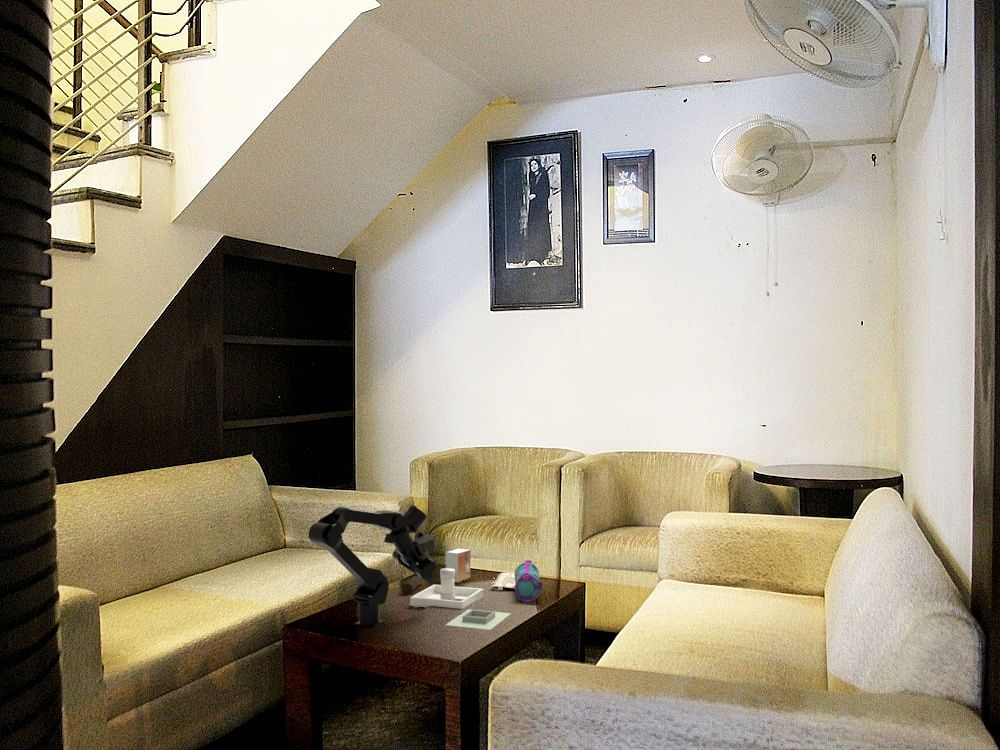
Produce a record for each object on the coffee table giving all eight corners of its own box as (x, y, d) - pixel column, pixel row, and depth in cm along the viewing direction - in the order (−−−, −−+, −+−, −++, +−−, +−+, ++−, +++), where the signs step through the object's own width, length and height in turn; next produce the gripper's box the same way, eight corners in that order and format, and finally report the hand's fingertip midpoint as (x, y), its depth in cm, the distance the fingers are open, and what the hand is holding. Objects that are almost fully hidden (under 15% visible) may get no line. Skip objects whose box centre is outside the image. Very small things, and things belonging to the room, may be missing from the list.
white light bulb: (457, 601, 274) (457, 570, 274) (443, 603, 271) (443, 571, 271) (451, 597, 278) (451, 567, 278) (438, 599, 276) (438, 568, 276)
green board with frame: (490, 633, 241) (490, 624, 241) (445, 628, 245) (445, 619, 245) (511, 616, 258) (511, 608, 258) (468, 612, 262) (468, 604, 262)
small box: (457, 583, 301) (457, 553, 301) (445, 581, 304) (445, 551, 304) (470, 578, 308) (470, 549, 308) (458, 576, 311) (458, 548, 311)
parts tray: (462, 611, 263) (462, 602, 263) (410, 606, 269) (410, 597, 269) (483, 597, 280) (483, 588, 280) (433, 593, 286) (433, 584, 286)
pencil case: (542, 603, 274) (542, 573, 274) (515, 603, 274) (514, 573, 274) (539, 587, 295) (539, 559, 295) (514, 587, 295) (513, 560, 295)
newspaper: (495, 577, 312) (495, 570, 312) (527, 582, 310) (528, 575, 310) (484, 592, 290) (485, 584, 290) (520, 597, 288) (520, 589, 288)
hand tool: (412, 595, 284) (412, 581, 284) (400, 594, 285) (400, 581, 285) (429, 582, 303) (429, 569, 303) (418, 582, 304) (418, 569, 304)
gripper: (439, 535, 257) (460, 572, 264) (409, 518, 272) (429, 552, 279) (411, 560, 253) (434, 596, 259) (382, 540, 268) (404, 575, 274)
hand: (426, 579), depth 268 cm, fingers open, 9 cm apart
